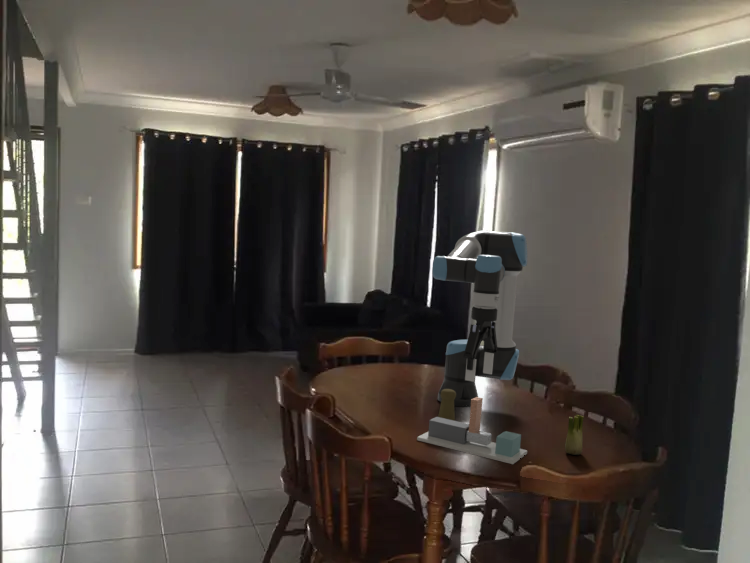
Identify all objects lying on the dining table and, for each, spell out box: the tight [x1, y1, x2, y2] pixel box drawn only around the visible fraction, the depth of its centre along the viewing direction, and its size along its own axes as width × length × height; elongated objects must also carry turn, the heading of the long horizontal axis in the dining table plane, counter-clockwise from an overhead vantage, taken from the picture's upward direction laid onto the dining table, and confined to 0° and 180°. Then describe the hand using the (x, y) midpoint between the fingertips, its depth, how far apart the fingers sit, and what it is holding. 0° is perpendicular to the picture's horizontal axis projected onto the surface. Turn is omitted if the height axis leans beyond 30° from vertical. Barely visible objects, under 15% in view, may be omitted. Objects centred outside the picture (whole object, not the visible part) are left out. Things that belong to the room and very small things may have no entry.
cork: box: [437, 389, 456, 421], centre depth 243 cm, size 6×6×11 cm
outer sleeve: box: [427, 416, 469, 444], centre depth 222 cm, size 12×5×5 cm, turn 59°
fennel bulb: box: [564, 414, 585, 456], centre depth 218 cm, size 6×5×12 cm
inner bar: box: [465, 396, 492, 446], centre depth 219 cm, size 16×4×13 cm, turn 59°
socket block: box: [495, 430, 522, 457], centre depth 212 cm, size 5×7×5 cm
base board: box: [416, 430, 528, 465], centre depth 218 cm, size 31×12×1 cm, turn 59°
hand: (478, 377), depth 216 cm, fingers open, 13 cm apart
